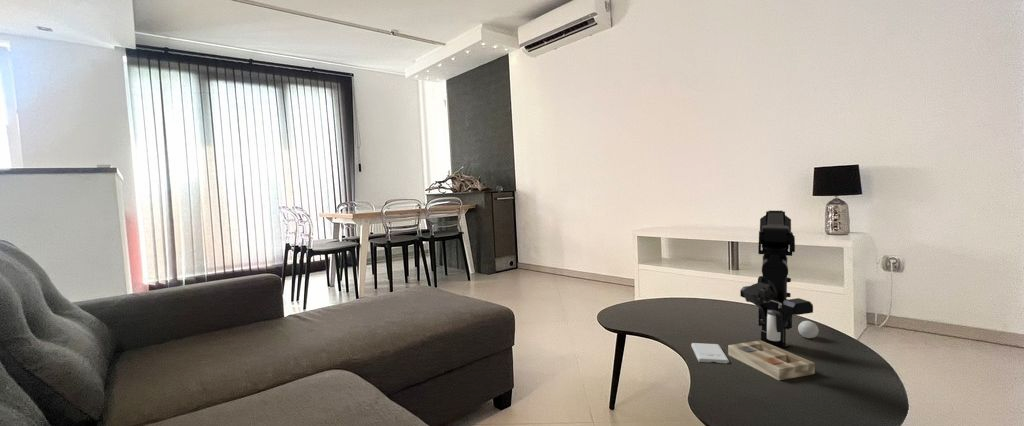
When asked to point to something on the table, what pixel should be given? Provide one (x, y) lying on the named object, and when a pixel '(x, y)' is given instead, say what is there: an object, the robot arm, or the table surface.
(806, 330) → the white egg
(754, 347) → the socket block
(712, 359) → the external hard drive
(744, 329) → the table surface
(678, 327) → the table surface
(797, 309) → the robot arm
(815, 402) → the table surface
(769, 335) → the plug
